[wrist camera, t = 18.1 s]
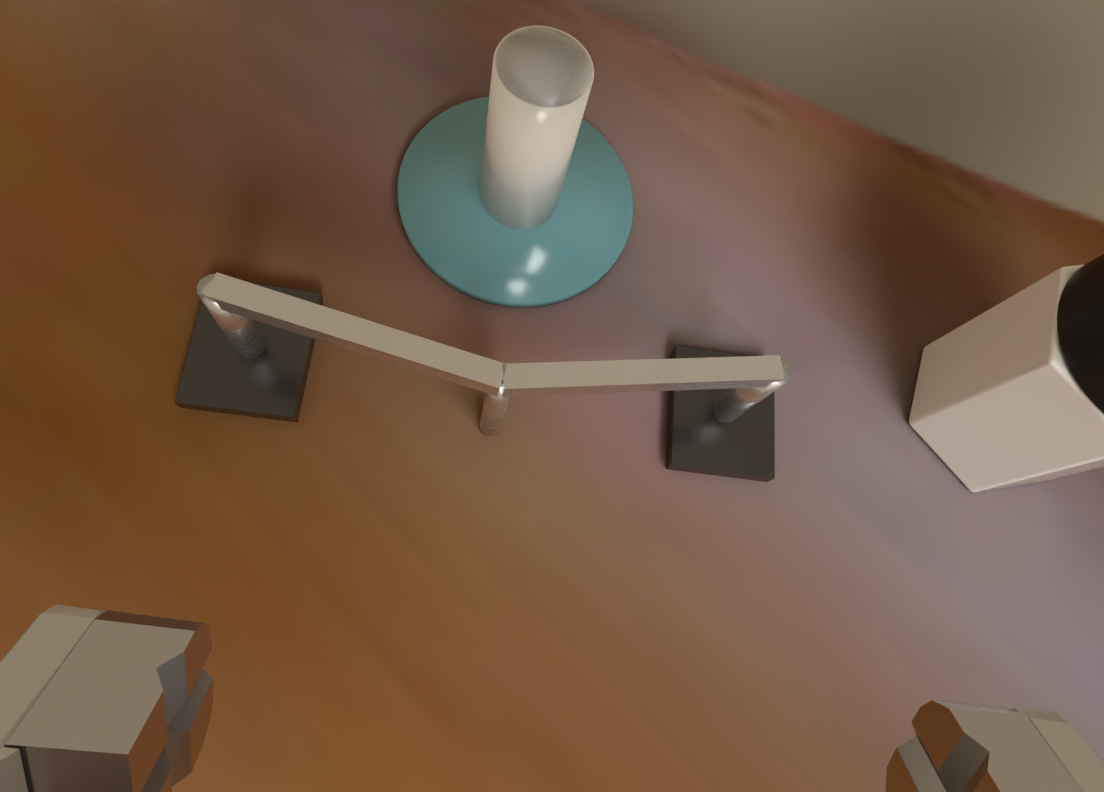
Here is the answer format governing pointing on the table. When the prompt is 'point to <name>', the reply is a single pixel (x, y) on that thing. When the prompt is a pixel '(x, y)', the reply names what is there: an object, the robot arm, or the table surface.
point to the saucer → (496, 250)
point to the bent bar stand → (472, 374)
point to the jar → (1020, 385)
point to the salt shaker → (532, 123)
